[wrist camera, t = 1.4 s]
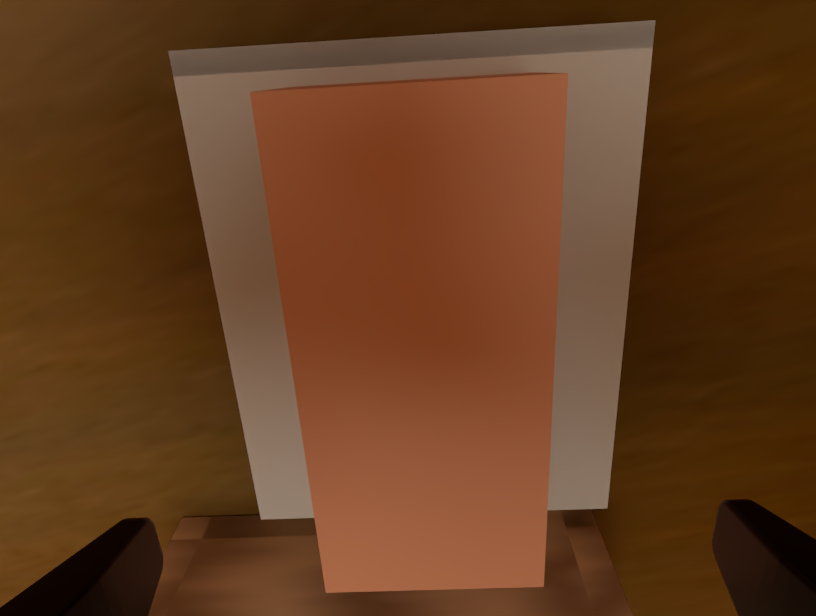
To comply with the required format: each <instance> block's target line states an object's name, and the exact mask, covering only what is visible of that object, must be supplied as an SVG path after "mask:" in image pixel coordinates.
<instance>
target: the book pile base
mask: <svg viewBox="0 0 816 616" xmlns="http://www.w3.org/2000/svg"><path fill="white" fill-rule="evenodd" d="M654 29H655V20H651V21H635V22H619V23H604V24H588V25H572V26H556V27H540V28H524V29H509V30H493V31H477V32H461V33H445V34H429V35H413V36H398V37H382V38H366V39H350V40H334V41H318V42H303V43H287V44H271V45H255V46H239V47H223V48H208V49H192V50H176V51H168V53H169V58H170V63H171V68H172V73H173V78H174V83H175V88H176V93H177V98H178V103H179V108H180V113H181V118H182V123H183V128H184V133H185V138H186V143H187V148H188V154H189V159H190V164H191V169H192V174H193V179H194V184H195V189H196V194H197V199H198V204H199V209H200V214H201V219H202V224H203V229H204V234H205V239H206V244H207V249H208V254H209V260H210V265H211V270H212V275H213V280H214V285H215V290H216V295H217V300H218V305H219V310H220V315H221V320H222V325H223V330H224V335H225V340H226V345H227V350H228V355H229V360H230V366H231V371H232V376H233V381H234V386H235V391H236V396H237V401H238V406H239V411H240V416H241V421H242V426H243V431H244V436H245V441H246V446H247V451H248V456H249V461H250V467H251V472H252V477H253V482H254V487H255V492H256V497H257V502H258V507H259V512H260V517H261V520H263V519H294V518H314V512H313V506H312V499H311V492H310V486H309V479H308V473H307V466H306V459H305V453H304V446H303V440H302V433H301V427H300V420H299V413H298V407H297V400H296V394H295V387H294V381H293V374H292V367H291V361H290V354H289V348H288V341H287V335H286V328H285V321H284V315H283V308H282V302H281V295H280V288H279V282H278V275H277V269H276V262H275V256H274V249H273V242H272V236H271V229H270V223H269V216H268V210H267V203H266V196H265V190H264V183H263V177H262V170H261V164H260V157H259V150H258V144H257V137H256V131H255V124H254V117H253V111H252V104H251V98H250V92H255V91H263V90H271V89H278V88H286V87H295V86H312V85H328V84H345V83H362V82H378V81H395V80H411V79H428V78H445V77H461V76H478V75H494V74H511V73H527V72H537V73H568V90H567V111H566V132H565V153H564V174H563V195H562V217H561V238H560V259H559V280H558V301H557V322H556V343H555V364H554V385H553V406H552V427H551V448H550V469H549V490H548V510H576V509H607V507H608V497H609V487H610V477H611V467H612V456H613V446H614V436H615V426H616V416H617V406H618V395H619V385H620V375H621V365H622V355H623V345H624V334H625V324H626V314H627V304H628V294H629V284H630V273H631V263H632V253H633V243H634V233H635V223H636V212H637V202H638V192H639V182H640V172H641V162H642V151H643V141H644V131H645V121H646V111H647V101H648V90H649V80H650V70H651V60H652V50H653V40H654Z"/></svg>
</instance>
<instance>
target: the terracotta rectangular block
mask: <svg viewBox="0 0 816 616" xmlns="http://www.w3.org/2000/svg"><path fill="white" fill-rule="evenodd" d="M567 90H568V73H537V72H527V73H511V74H494V75H478V76H461V77H445V78H428V79H411V80H395V81H378V82H362V83H345V84H328V85H312V86H295V87H286V88H278V89H271V90H263V91H255V92H250V98H251V104H252V111H253V117H254V124H255V131H256V137H257V144H258V150H259V157H260V164H261V170H262V177H263V183H264V190H265V196H266V203H267V210H268V216H269V223H270V229H271V236H272V242H273V249H274V256H275V262H276V269H277V275H278V282H279V288H280V295H281V302H282V308H283V315H284V321H285V328H286V335H287V341H288V348H289V354H290V361H291V367H292V374H293V381H294V387H295V394H296V400H297V407H298V413H299V420H300V427H301V433H302V440H303V446H304V453H305V459H306V466H307V473H308V479H309V486H310V492H311V499H312V506H313V512H314V519H315V525H316V532H317V538H318V545H319V552H320V558H321V565H322V571H323V578H324V584H325V591H326V593H337V592H374V591H411V590H448V589H485V588H522V587H544V574H545V553H546V532H547V511H548V490H549V469H550V448H551V427H552V406H553V385H554V364H555V343H556V322H557V301H558V280H559V259H560V238H561V217H562V195H563V174H564V153H565V132H566V111H567Z"/></svg>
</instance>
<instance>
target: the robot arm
mask: <svg viewBox="0 0 816 616" xmlns="http://www.w3.org/2000/svg"><path fill="white" fill-rule="evenodd" d="M712 546H713V552H714V556H715V558H716V561H717V563H718V566H719V569H720V571H721V574H722V576H723V579H724V581H725V584H726V586H727V589H728V591H729V594H730V596H731V599H732V601H733V604H734V606H735V609H736V611H737V614H738V616H816V540H815V539H814V538H812V537H811V536H809V535H807V534H806V533H804V532H803V531H801V530H799V529H798V528H796V527H794V526H793V525H791V524H790V523H788V522H786V521H785V520H783V519H781V518H780V517H778V516H777V515H775V514H773V513H772V512H770V511H768V510H767V509H765V508H764V507H762V506H760V505H759V504H757V503H755V502H753V501H751V500H747V499H738V500H725V501H722V502H721V504H720V505H719V508H718V513H717V519H716V524H715V529H714V534H713V541H712ZM162 570H163V553H162V550H161V547H160V543H159V540H158V536H157V533H156V529H155V526H154V523H153V522H152V520H151V519H149V518H127V519H123V520H122V521H120V522H118V523H117V524H116V525H114V526H113V527H111V528H110V529H109V530H107V531H106V532H105V533H103V534H102V535H100V536H99V537H98V538H96V539H95V540H93V541H92V542H91V543H89V544H88V545H86V546H85V547H84V548H82V549H81V550H80V551H78V552H77V553H75V554H74V555H73V556H71V557H70V558H68V559H67V560H66V561H64V562H63V563H61V564H60V565H59V566H57V567H56V568H55V569H53V570H52V571H50V572H49V573H48V574H46V575H45V576H43V577H42V578H41V579H39V580H38V581H37V582H35V583H34V584H32V585H31V586H30V587H28V588H27V589H25V590H24V591H23V592H21V593H20V594H18V595H17V596H16V597H14V598H13V599H12V600H10V601H9V602H7V603H6V604H5V605H3V606H2V607H0V616H148V615H149V612H150V609H151V606H152V602H153V599H154V596H155V593H156V590H157V586H158V583H159V580H160V577H161V574H162Z"/></svg>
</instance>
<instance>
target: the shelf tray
mask: <svg viewBox="0 0 816 616" xmlns="http://www.w3.org/2000/svg"><path fill="white" fill-rule="evenodd" d="M148 616H633V614H632V612H631V609H630V607H629V604H628V602H627V599H626V597H625V594H624V592H623V589H622V586H621V584H620V581H619V579H618V576H617V574H616V571H615V569H614V566H613V564H612V561H611V558H610V556H609V553H608V551H607V548H606V546H605V543H604V541H603V538H602V536H601V533H600V531H599V528H598V525H597V523H596V520H595V518H594V515H593V513H592V510H591V509H576V510H548V511H547V532H546V553H545V574H544V587H522V588H485V589H448V590H411V591H374V592H337V593H326V591H325V584H324V578H323V571H322V565H321V558H320V552H319V545H318V538H317V532H316V525H315V519H314V518H294V519H263V520H261V517H260V515H246V516H215V517H184V518H182V519H181V521H180V523H179V525H178V527H177V529H176V531H175V533H174V534H173V536H172V538H171V540H170V542H169V544H168V546H167V548H166V550H165V552H164V553H163V570H162V574H161V577H160V580H159V583H158V586H157V590H156V593H155V596H154V599H153V602H152V606H151V609H150V612H149V615H148Z"/></svg>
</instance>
